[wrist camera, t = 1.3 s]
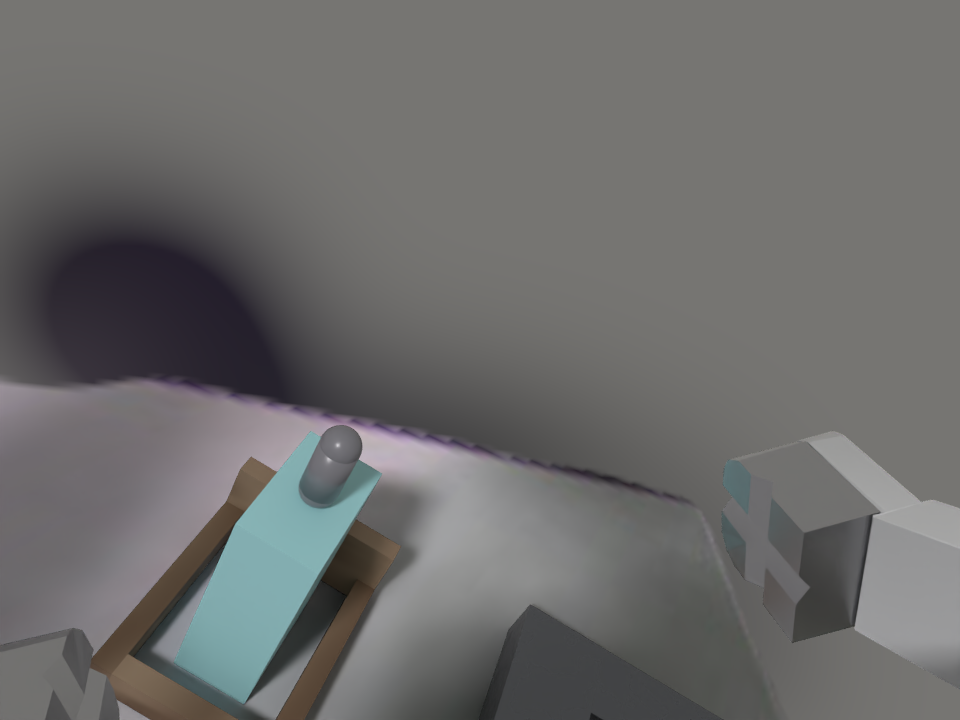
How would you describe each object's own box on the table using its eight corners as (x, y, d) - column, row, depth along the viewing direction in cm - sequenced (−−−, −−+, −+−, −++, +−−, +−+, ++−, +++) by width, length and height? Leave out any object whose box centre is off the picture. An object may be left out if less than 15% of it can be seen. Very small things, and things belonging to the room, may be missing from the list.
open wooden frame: (83, 679, 33) (100, 627, 31) (229, 506, 42) (251, 456, 40) (265, 787, 33) (295, 743, 31) (371, 591, 42) (400, 546, 40)
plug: (173, 662, 35) (265, 455, 27) (246, 565, 40) (341, 367, 32) (243, 704, 35) (355, 509, 27) (307, 602, 40) (417, 413, 32)
